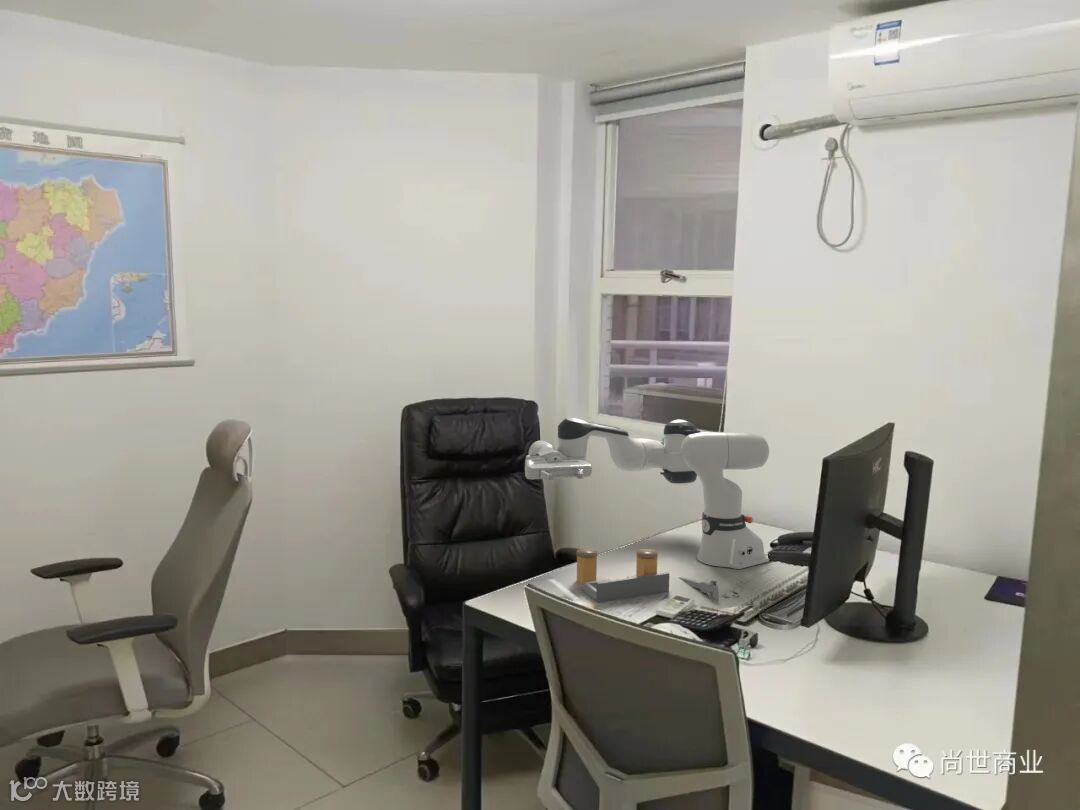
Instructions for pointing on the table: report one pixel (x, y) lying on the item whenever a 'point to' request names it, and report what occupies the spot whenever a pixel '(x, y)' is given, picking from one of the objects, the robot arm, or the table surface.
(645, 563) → the orange jar with lid
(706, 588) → the caliper
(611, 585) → the housing
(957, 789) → the table surface
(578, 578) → the amber lidded jar
